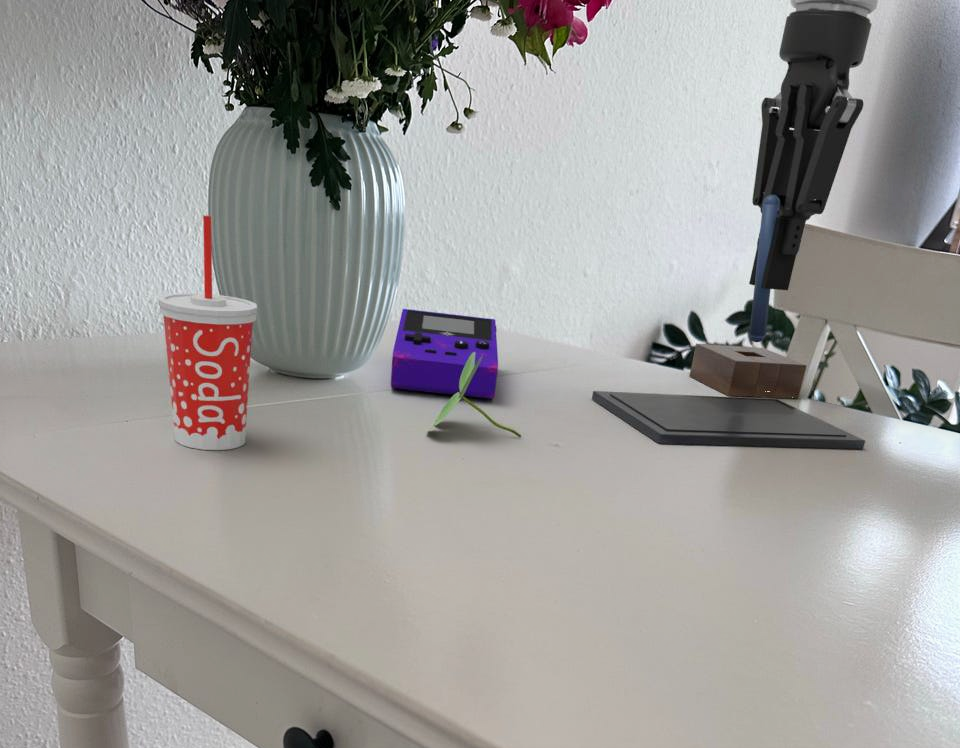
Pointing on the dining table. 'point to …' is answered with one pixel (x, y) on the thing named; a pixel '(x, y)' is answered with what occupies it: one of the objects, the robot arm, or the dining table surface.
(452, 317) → the handheld gaming console
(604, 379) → the dining table surface
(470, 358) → the seedling
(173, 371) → the beverage cup
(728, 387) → the pen stand
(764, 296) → the stylus
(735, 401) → the tablet
